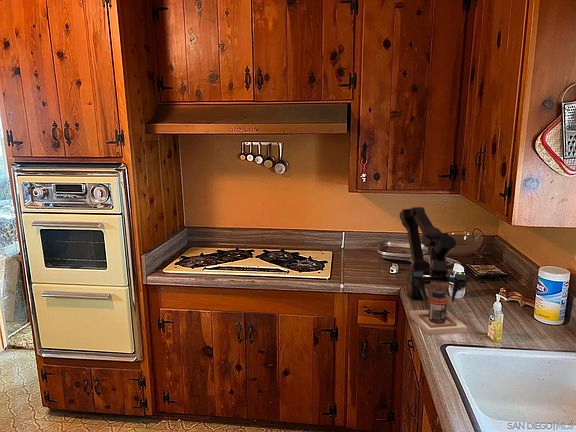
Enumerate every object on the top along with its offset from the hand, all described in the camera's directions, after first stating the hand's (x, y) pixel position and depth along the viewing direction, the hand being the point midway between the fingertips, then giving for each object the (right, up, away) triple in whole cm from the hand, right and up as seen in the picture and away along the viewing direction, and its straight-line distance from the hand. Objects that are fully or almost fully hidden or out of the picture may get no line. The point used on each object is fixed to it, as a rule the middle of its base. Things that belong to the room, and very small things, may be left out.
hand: (438, 301), depth 150 cm
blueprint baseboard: (+1, -9, +5) cm, 11 cm away
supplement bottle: (0, -8, +3) cm, 8 cm away
